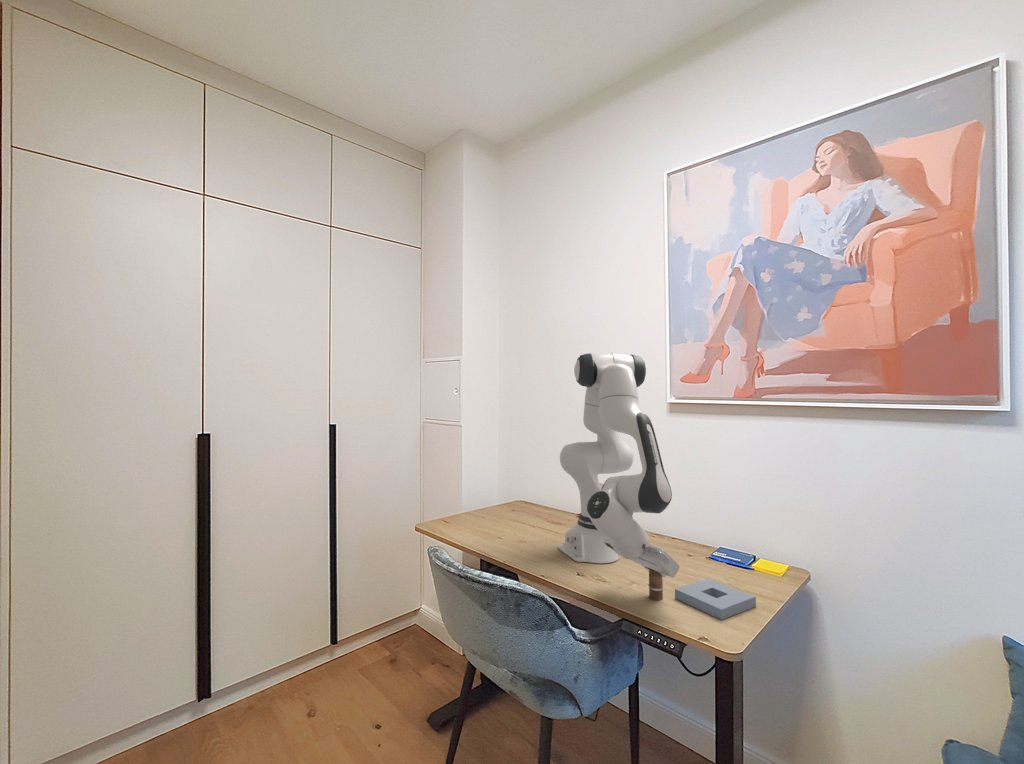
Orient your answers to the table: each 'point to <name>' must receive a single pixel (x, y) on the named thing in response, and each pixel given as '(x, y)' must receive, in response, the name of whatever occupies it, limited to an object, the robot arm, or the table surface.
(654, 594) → the peg
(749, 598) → the socket board
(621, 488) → the robot arm
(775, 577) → the table surface
